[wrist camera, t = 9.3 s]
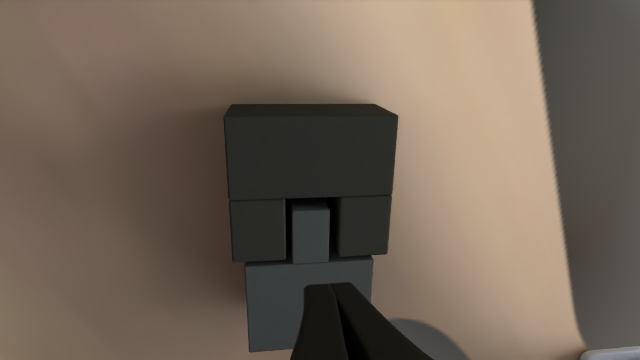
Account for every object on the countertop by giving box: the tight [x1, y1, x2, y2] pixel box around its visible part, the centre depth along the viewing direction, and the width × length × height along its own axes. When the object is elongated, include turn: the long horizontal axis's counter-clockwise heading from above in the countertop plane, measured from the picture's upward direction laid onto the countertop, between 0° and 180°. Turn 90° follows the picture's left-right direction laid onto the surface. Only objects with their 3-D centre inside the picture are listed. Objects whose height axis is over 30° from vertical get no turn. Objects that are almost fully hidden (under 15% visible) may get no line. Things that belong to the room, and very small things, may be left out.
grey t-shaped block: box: [245, 197, 373, 352], centre depth 17 cm, size 6×5×3 cm
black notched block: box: [224, 104, 398, 262], centre depth 15 cm, size 6×6×3 cm
